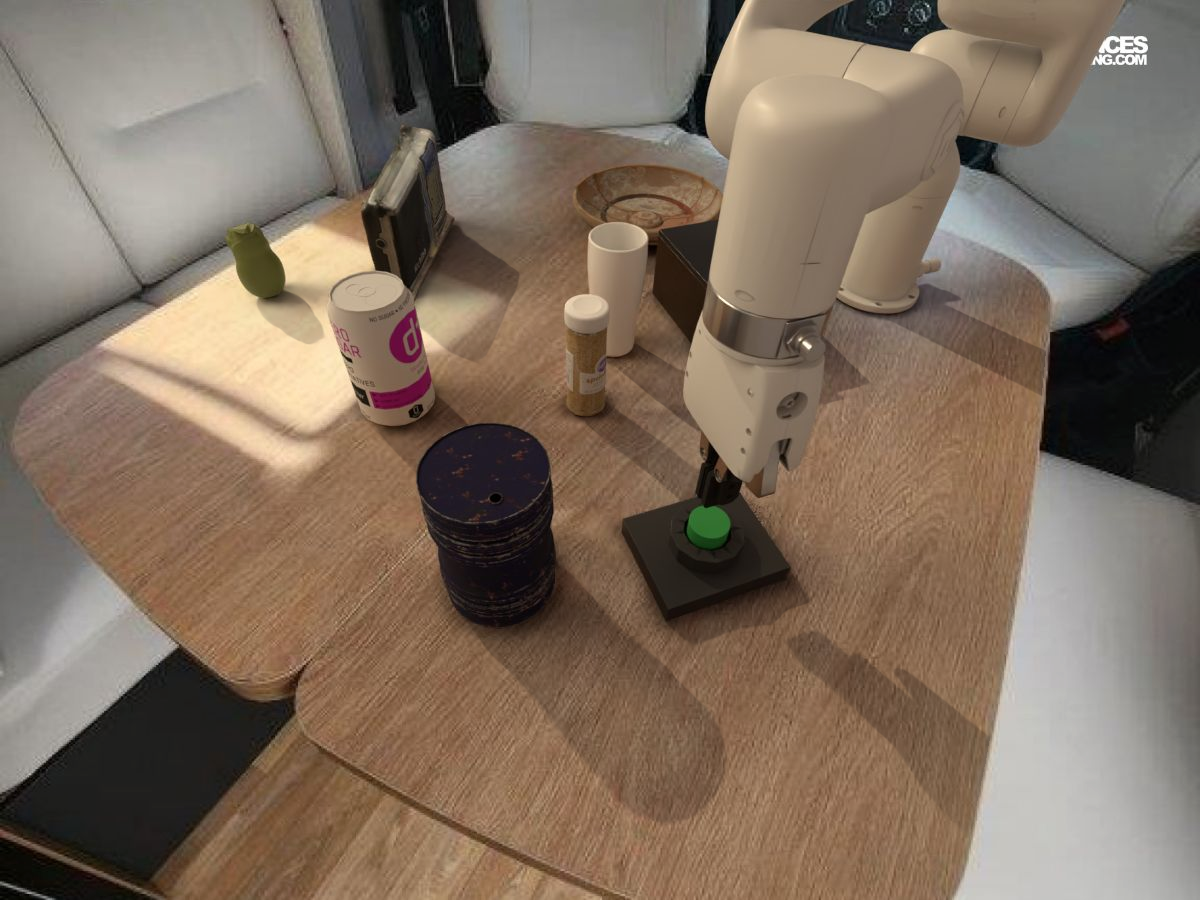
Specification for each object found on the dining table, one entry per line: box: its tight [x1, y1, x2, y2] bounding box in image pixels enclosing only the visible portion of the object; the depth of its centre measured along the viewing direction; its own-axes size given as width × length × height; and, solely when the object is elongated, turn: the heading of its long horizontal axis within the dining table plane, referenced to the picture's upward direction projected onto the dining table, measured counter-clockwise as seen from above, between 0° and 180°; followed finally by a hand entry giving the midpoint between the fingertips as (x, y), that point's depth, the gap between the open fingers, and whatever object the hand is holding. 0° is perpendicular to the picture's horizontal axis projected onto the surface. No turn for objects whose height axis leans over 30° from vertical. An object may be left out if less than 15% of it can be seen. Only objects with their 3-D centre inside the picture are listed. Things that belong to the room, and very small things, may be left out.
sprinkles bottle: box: [563, 293, 610, 417], centre depth 67 cm, size 5×5×13 cm
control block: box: [621, 492, 792, 623], centre depth 57 cm, size 12×10×4 cm
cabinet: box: [652, 218, 719, 345], centre depth 81 cm, size 15×13×10 cm
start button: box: [687, 506, 731, 550], centre depth 55 cm, size 4×4×2 cm
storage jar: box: [415, 422, 557, 629], centre depth 51 cm, size 10×10×15 cm
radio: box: [360, 125, 455, 300], centre depth 87 cm, size 23×9×15 cm, turn 169°
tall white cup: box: [586, 222, 649, 358], centre depth 74 cm, size 7×7×15 cm
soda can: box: [326, 270, 436, 427], centre depth 66 cm, size 8×8×15 cm
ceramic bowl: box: [572, 163, 723, 246], centre depth 100 cm, size 23×24×5 cm
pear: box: [225, 221, 287, 299], centre depth 82 cm, size 6×5×10 cm
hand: (716, 496), depth 52 cm, fingers closed
